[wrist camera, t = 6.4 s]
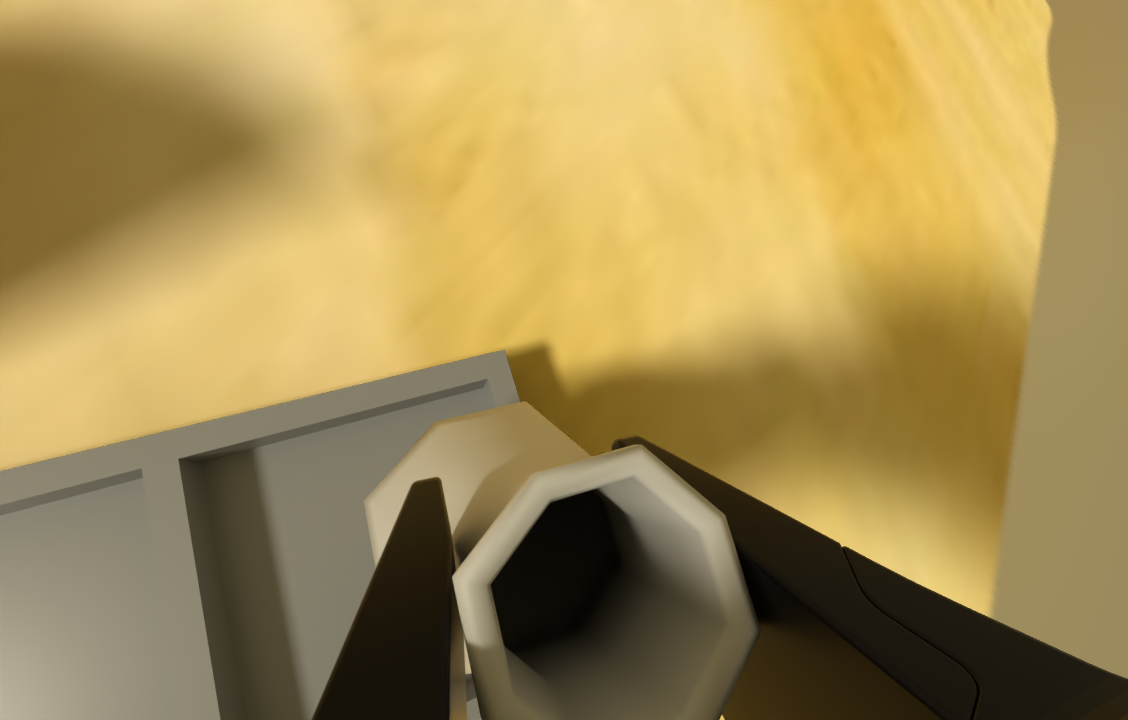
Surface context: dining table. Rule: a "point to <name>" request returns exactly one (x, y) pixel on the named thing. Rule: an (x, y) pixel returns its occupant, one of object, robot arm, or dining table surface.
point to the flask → (579, 573)
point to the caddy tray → (210, 554)
